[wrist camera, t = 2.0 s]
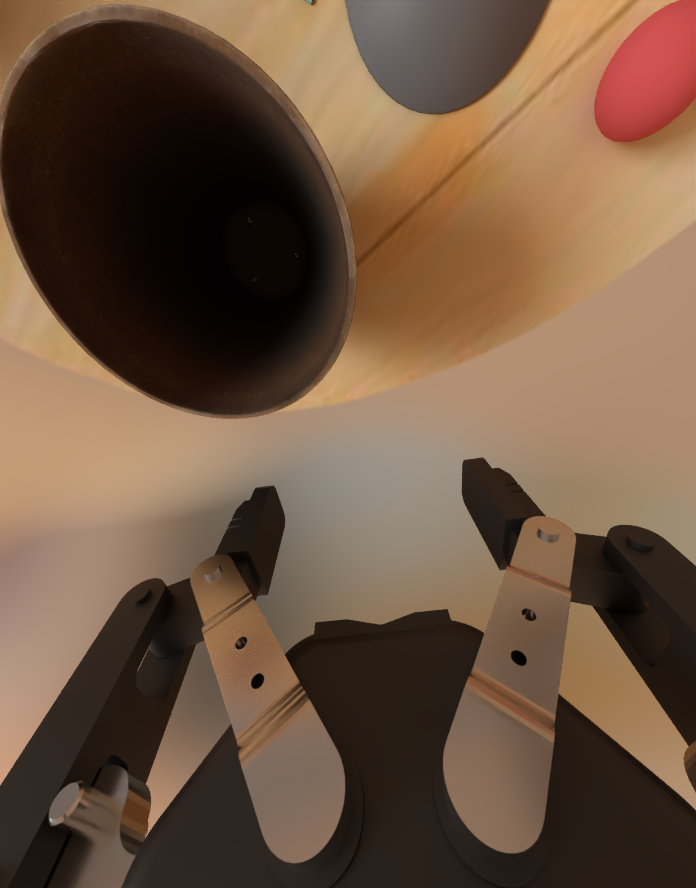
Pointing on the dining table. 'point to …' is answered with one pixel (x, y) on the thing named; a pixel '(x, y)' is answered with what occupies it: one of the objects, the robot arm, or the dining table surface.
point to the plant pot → (175, 212)
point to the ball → (650, 75)
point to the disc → (441, 46)
